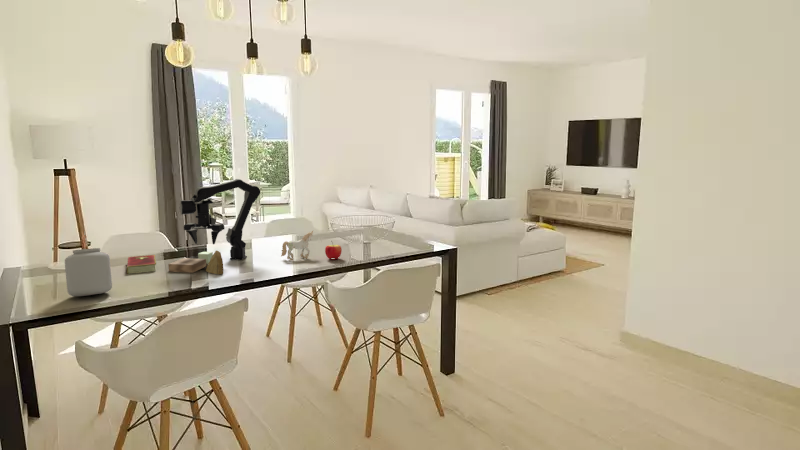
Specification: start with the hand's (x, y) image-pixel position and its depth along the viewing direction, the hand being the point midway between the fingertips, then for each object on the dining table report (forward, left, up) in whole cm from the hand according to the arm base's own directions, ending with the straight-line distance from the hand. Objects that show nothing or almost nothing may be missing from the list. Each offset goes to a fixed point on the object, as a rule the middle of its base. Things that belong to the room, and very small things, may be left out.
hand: (205, 244), depth 245 cm
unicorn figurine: (-42, -18, -10) cm, 47 cm away
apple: (-61, -17, -10) cm, 64 cm away
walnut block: (+2, +13, -10) cm, 16 cm away
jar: (+17, +57, -10) cm, 60 cm away
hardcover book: (+25, +14, -10) cm, 30 cm away
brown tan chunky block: (-14, +18, -10) cm, 25 cm away
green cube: (0, 0, -10) cm, 10 cm away
